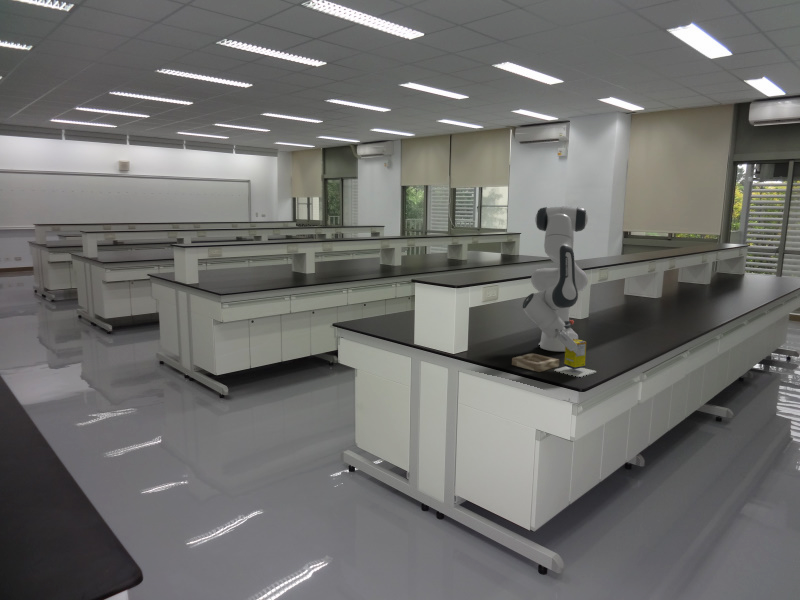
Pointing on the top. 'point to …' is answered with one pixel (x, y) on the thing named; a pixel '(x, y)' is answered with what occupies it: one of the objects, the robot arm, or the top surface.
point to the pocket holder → (535, 362)
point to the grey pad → (575, 371)
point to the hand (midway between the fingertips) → (577, 351)
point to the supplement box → (576, 356)
